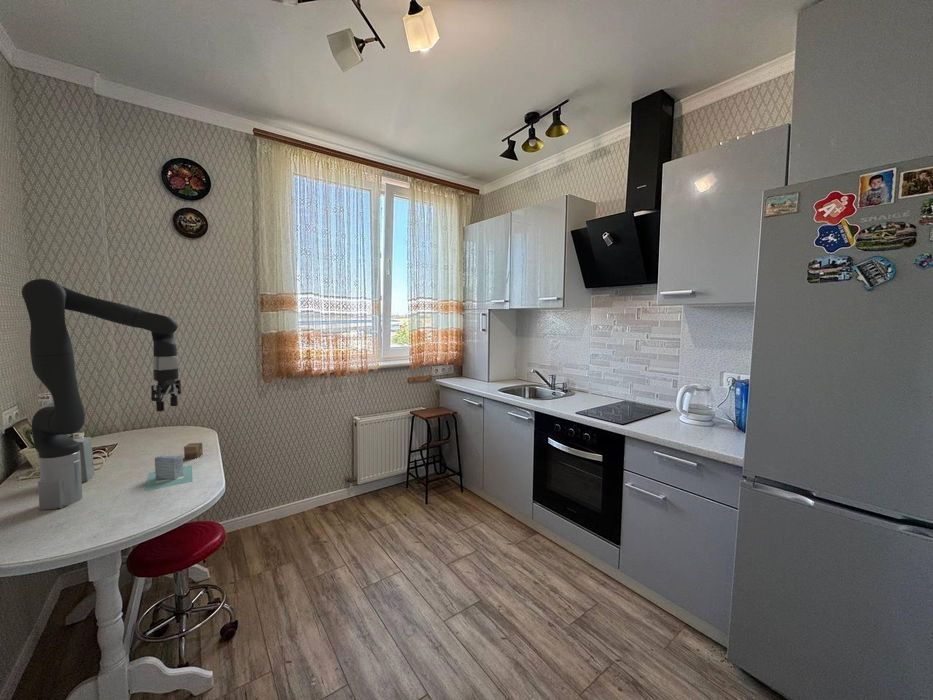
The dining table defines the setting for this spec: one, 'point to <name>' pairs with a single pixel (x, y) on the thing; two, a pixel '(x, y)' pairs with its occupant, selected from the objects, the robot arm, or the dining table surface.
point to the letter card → (160, 483)
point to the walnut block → (193, 451)
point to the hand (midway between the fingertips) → (167, 408)
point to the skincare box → (86, 458)
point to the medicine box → (169, 466)
